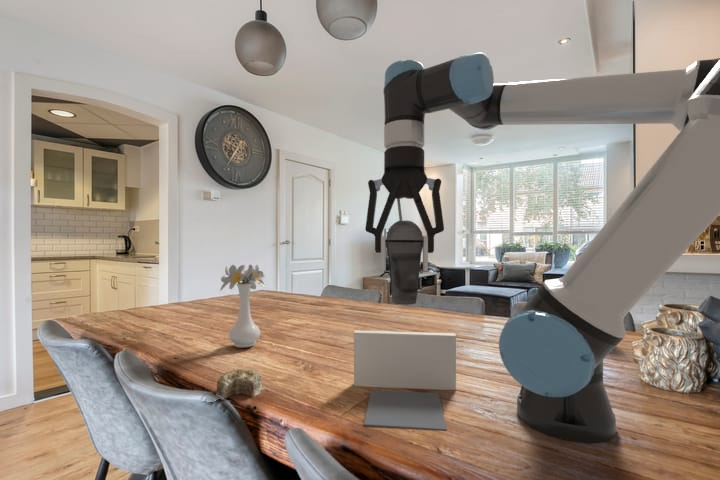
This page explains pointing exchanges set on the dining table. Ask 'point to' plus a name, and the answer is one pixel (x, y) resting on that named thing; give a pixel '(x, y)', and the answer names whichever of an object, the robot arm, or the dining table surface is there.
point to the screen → (405, 359)
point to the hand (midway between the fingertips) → (404, 270)
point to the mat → (405, 410)
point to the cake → (239, 383)
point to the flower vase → (243, 303)
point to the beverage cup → (404, 259)
